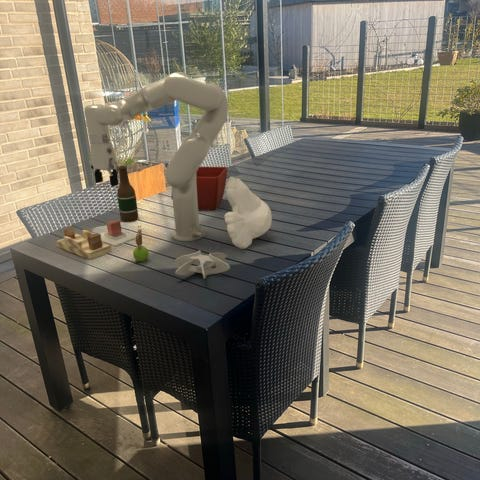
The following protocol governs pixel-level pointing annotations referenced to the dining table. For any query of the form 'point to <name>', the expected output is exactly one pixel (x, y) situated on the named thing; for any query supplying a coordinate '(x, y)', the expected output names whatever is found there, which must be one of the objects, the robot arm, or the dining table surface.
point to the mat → (117, 242)
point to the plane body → (83, 244)
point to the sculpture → (201, 264)
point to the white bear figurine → (245, 214)
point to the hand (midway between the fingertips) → (107, 183)
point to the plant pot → (210, 187)
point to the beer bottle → (126, 197)
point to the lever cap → (114, 230)
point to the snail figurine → (140, 248)
